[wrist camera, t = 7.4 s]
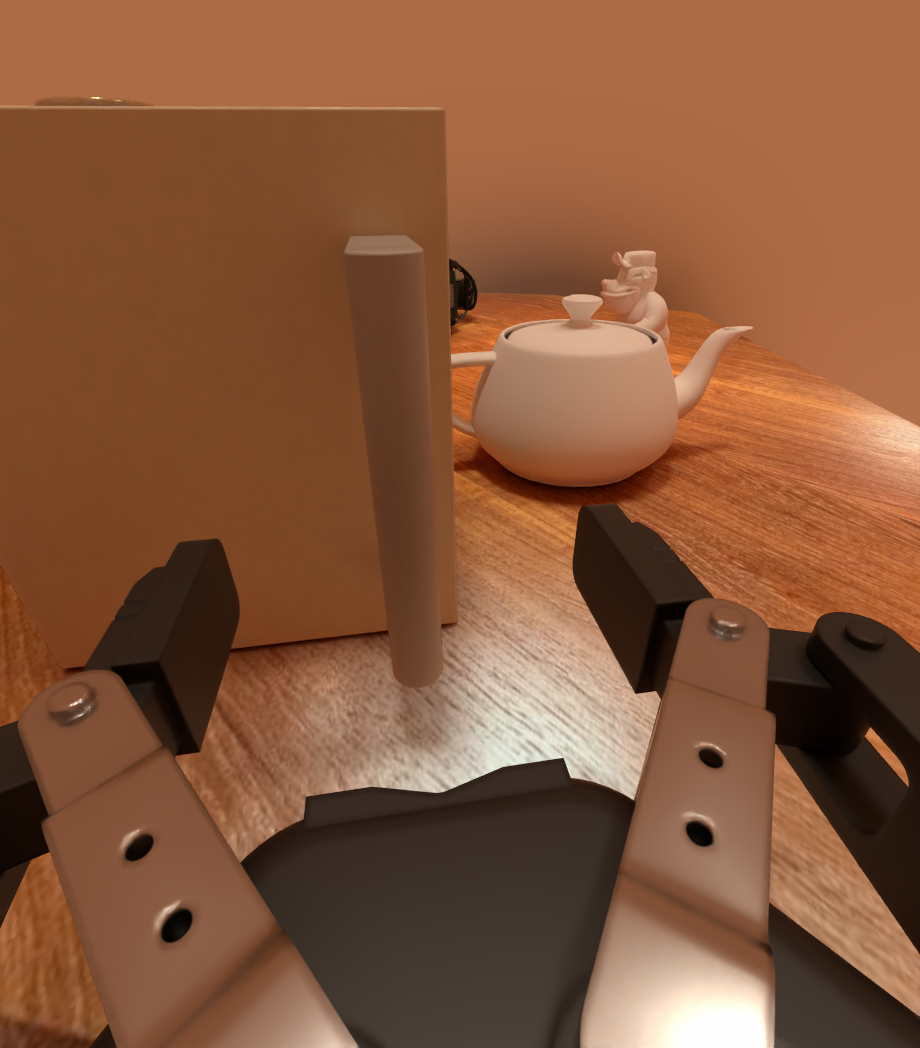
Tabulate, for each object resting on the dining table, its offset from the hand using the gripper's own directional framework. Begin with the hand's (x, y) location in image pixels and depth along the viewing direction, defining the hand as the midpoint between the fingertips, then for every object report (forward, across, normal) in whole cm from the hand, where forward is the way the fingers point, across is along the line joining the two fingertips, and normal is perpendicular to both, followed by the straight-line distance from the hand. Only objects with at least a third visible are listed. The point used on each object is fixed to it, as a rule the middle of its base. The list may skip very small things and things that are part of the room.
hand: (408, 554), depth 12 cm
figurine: (+36, -22, +9) cm, 43 cm away
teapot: (+23, -13, +9) cm, 28 cm away
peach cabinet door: (+5, +6, +9) cm, 12 cm away
